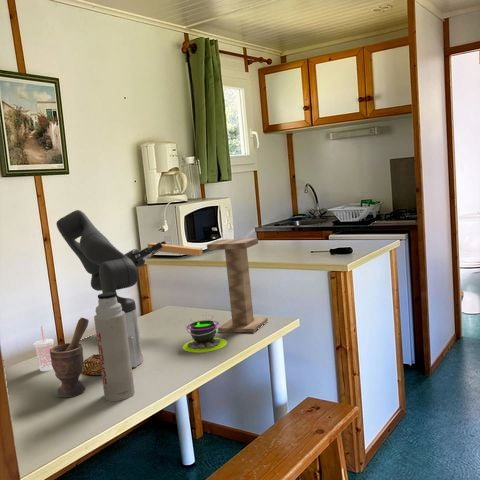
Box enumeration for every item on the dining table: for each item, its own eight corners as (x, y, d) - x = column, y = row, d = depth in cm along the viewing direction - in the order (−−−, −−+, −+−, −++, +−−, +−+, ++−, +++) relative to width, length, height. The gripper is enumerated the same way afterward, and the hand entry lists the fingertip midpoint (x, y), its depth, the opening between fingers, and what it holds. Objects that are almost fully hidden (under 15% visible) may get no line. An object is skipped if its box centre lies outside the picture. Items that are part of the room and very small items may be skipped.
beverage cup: (61, 366, 174) (55, 324, 172) (45, 373, 169) (39, 330, 167) (49, 364, 177) (43, 322, 175) (33, 370, 172) (27, 328, 170)
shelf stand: (214, 331, 195) (205, 245, 192) (230, 321, 208) (222, 239, 204) (254, 333, 189) (245, 243, 186) (267, 321, 202) (260, 237, 198)
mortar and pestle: (77, 381, 158) (68, 315, 156) (101, 383, 155) (92, 316, 153) (49, 397, 148) (39, 327, 146) (74, 400, 144) (64, 328, 142)
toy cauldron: (175, 352, 177) (171, 320, 175) (192, 338, 191) (189, 308, 190) (218, 353, 172) (214, 319, 171) (232, 338, 186) (229, 307, 185)
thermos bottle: (105, 403, 140) (91, 298, 137) (103, 392, 148) (90, 293, 144) (136, 397, 142) (123, 293, 139) (133, 386, 150) (120, 288, 147)
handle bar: (147, 250, 209) (147, 243, 209) (151, 248, 212) (151, 242, 212) (198, 256, 202) (199, 249, 201) (202, 254, 204) (202, 248, 204)
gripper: (116, 256, 208) (150, 237, 202) (135, 250, 221) (168, 232, 215) (124, 273, 208) (158, 255, 201) (143, 267, 221) (176, 249, 214)
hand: (163, 244), depth 208 cm, fingers closed on handle bar, 3 cm apart
